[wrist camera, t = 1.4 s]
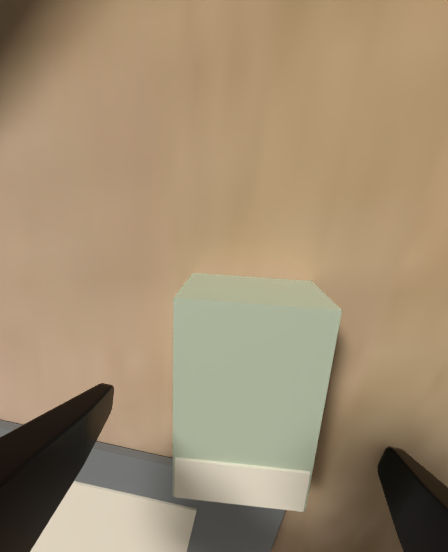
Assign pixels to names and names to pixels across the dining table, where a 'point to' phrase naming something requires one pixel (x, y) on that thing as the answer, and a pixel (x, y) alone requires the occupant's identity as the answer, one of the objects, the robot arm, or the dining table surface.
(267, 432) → the sage block
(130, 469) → the placemat
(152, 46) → the dining table surface
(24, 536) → the robot arm
